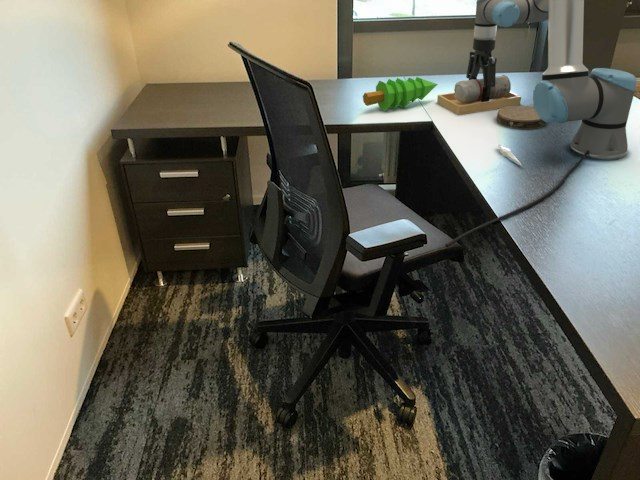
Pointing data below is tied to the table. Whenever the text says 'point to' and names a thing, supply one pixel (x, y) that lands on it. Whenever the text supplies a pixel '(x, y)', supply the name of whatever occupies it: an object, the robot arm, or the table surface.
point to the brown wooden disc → (519, 117)
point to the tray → (477, 103)
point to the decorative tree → (398, 92)
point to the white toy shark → (509, 154)
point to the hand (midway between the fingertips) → (478, 101)
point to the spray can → (474, 87)
